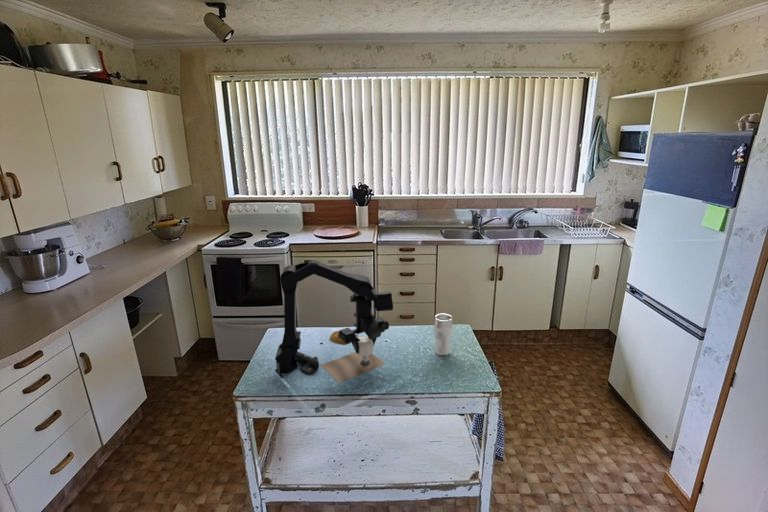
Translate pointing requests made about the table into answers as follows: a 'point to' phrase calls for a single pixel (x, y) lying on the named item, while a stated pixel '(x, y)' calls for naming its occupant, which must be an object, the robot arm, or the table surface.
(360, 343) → the cap
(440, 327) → the white cylindrical vase
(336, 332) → the pastry
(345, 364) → the board
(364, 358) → the door knob
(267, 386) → the table surface
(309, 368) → the can opener
